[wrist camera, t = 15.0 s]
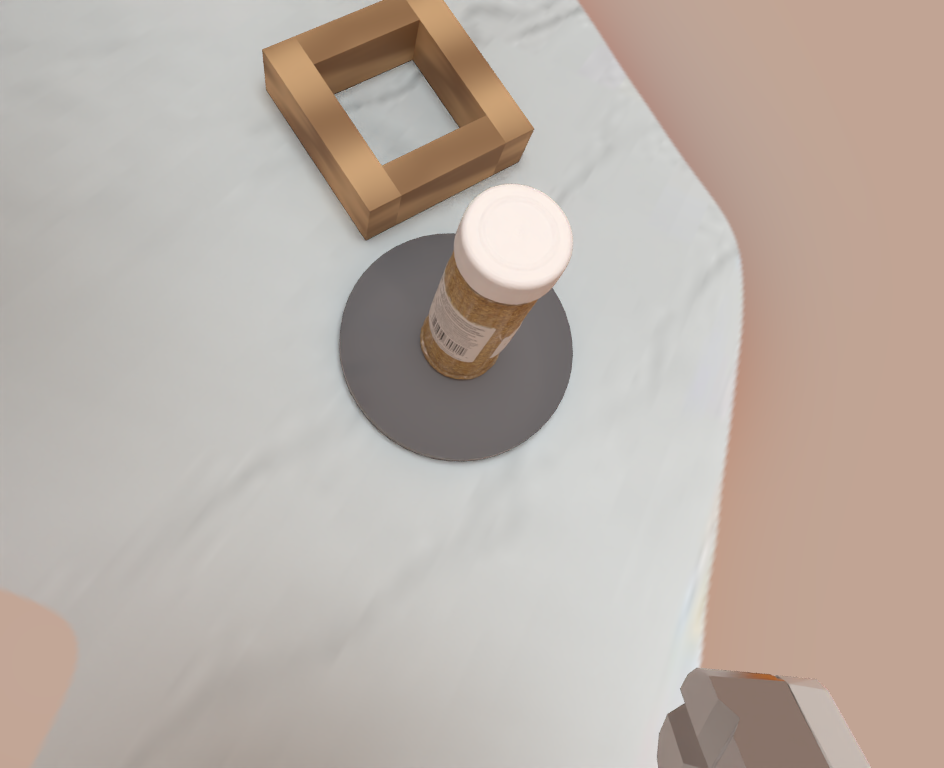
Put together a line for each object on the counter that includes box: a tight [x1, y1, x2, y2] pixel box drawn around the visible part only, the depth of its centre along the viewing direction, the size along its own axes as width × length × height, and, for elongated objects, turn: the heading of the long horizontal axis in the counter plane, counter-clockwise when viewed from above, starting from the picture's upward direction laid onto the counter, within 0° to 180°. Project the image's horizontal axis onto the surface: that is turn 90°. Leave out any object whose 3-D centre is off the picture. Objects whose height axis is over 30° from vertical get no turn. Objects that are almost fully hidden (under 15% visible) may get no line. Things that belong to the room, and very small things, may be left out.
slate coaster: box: [340, 233, 573, 461], centre depth 43 cm, size 13×13×1 cm
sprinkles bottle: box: [420, 184, 573, 379], centre depth 36 cm, size 5×5×13 cm
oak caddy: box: [262, 0, 534, 240], centre depth 45 cm, size 11×11×4 cm
